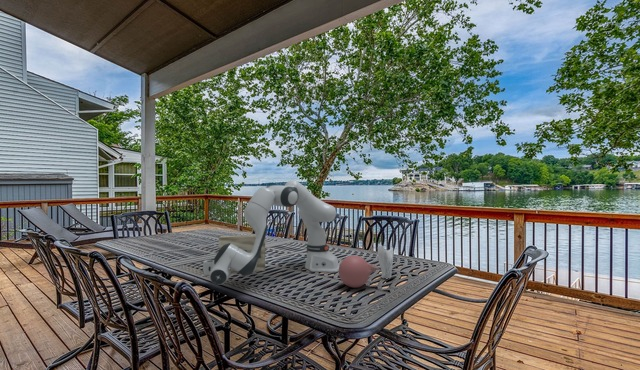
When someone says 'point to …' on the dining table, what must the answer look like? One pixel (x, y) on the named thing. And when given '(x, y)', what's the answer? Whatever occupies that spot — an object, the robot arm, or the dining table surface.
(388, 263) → the shell sculpture
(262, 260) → the button panel
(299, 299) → the dining table surface
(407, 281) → the dining table surface
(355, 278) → the pink bulb with spout
